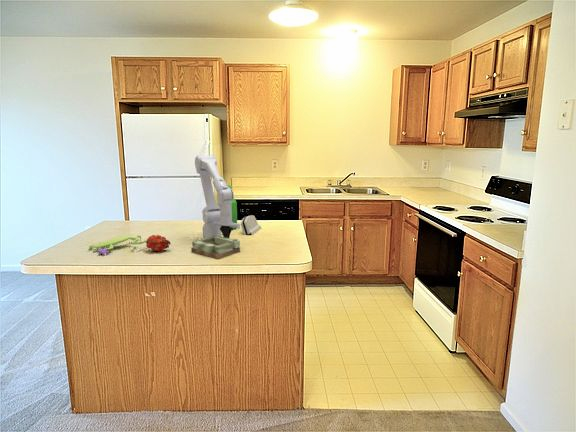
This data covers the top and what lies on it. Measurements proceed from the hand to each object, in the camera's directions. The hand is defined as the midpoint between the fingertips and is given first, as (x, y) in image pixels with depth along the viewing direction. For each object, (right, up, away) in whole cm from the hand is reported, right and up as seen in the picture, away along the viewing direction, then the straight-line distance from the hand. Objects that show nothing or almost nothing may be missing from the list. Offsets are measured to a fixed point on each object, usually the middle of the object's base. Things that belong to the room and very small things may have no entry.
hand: (226, 241), depth 190 cm
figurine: (-51, -4, -1) cm, 51 cm away
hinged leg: (+1, -2, -4) cm, 5 cm away
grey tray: (-4, -5, -7) cm, 9 cm away
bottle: (-4, +5, +37) cm, 37 cm away
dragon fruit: (-32, -4, -5) cm, 32 cm away
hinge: (+9, +3, +30) cm, 32 cm away
